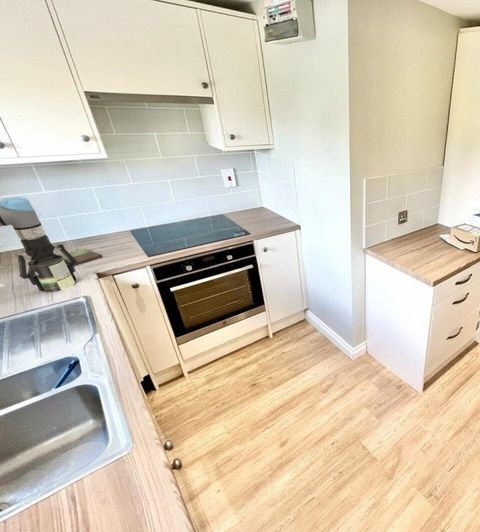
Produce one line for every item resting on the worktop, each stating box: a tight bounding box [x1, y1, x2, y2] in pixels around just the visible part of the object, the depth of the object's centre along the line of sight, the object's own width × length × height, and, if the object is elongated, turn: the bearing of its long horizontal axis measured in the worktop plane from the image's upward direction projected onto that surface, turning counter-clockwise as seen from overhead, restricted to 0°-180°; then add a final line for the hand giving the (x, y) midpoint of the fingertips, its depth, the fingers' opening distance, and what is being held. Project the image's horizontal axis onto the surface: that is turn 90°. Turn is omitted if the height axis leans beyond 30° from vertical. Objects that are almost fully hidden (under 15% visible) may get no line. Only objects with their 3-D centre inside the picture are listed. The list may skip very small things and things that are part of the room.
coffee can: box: [27, 254, 76, 293], centre depth 136 cm, size 10×10×14 cm
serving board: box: [61, 248, 103, 267], centre depth 162 cm, size 20×16×2 cm
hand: (58, 284), depth 138 cm, fingers closed on coffee can, 10 cm apart
